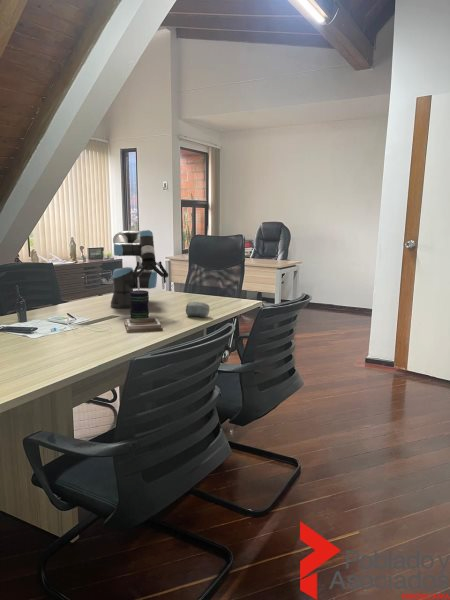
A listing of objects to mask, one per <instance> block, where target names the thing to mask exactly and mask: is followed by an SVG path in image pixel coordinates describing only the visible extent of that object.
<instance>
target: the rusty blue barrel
mask: <svg viewBox="0 0 450 600" xmlns="http://www.w3.org/2000/svg"><path fill="white" fill-rule="evenodd" d="M149 293H150V292H149V291H148V290H145V289H144V290H142V289H141V290H140V289H139V290H138V289H137V290H136V289H135V290H133V291H130V303H131V308H130V310H129V311H130V313H129V315H130V319H138V318H150V311H149V303H150V302H149V299H150V297H149Z"/></svg>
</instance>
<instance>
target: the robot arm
mask: <svg viewBox="0 0 450 600" xmlns="http://www.w3.org/2000/svg"><path fill="white" fill-rule="evenodd" d="M153 234H154V233H153V232H152V231H151V230H149V229H144V230H122V231H120V232H118V233H116V234H114V235H113V238H112V243H113V255H114V256H117V257H130V256H131V257H135V263H136V266H135V268H134V269H133V267H132V266H127V267H126V266H125V267H119V268H115V269H114V270H113V272H112V283H113V285H112V287H113V289H112V291H113V293H112V296H111V300H110V307H111V308H115V309H129V308H130V309H131V303H130V291H134V290H136V289H137V290H140V289H141V290H142V289H144V290H145V289H155V288H156V287H157V283H158V282H157V281H158V280H157V279H158V275H159V276H160V277H161V285H162V286H161V287H162V290H165V284H166V282H167V279H166V278H169V273H168V271H167V270H166V268H165V267H164V266H163V264H162V261H159V262H157V261H156V255H155V254H156V253H155V245H154V243H155V242H154V235H153Z"/></svg>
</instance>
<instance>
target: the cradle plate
mask: <svg viewBox="0 0 450 600" xmlns="http://www.w3.org/2000/svg"><path fill="white" fill-rule="evenodd" d="M124 327H125V329H126V332H127V333H141V332H159V331H161V332H162V331H164V328H163V326H162V324H161V323H160V321H159V319H158V318H157V317H149V318H138V319H131V318H126V319H125V321H124Z"/></svg>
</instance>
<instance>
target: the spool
mask: <svg viewBox="0 0 450 600" xmlns="http://www.w3.org/2000/svg"><path fill="white" fill-rule="evenodd" d="M210 309H211V307H210V305H209V304H207V303H205V302H200V301H189V302H187V304H186V306H185V314H186V316H188V317H198V318H207V317H208V315H209V314H210Z"/></svg>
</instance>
